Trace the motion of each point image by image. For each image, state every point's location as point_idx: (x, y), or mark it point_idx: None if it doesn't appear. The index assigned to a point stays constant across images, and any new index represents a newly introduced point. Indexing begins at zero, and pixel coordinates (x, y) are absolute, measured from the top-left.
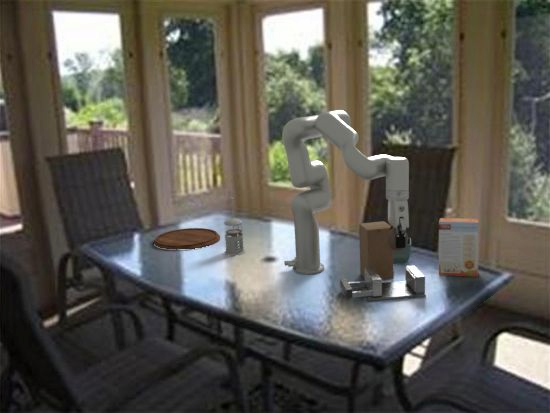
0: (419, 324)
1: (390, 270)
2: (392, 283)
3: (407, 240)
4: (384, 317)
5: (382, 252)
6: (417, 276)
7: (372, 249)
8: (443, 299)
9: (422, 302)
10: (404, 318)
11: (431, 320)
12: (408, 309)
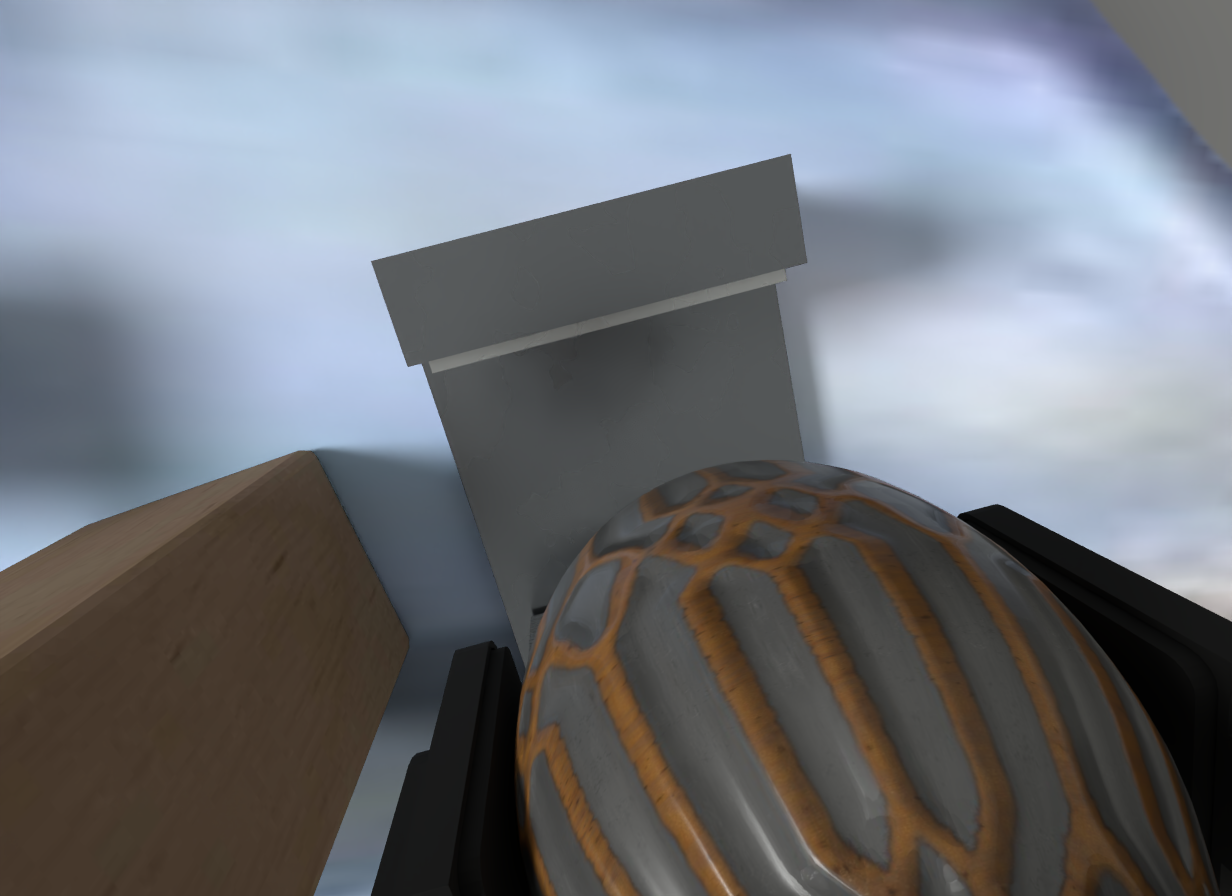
0: (1228, 278)
1: (294, 503)
2: (498, 464)
3: (903, 492)
4: (1078, 505)
5: (236, 703)
6: (787, 248)
7: (279, 860)
8: (797, 18)
9: (850, 222)
10: (1117, 376)
11: (1186, 183)
12: (973, 342)
